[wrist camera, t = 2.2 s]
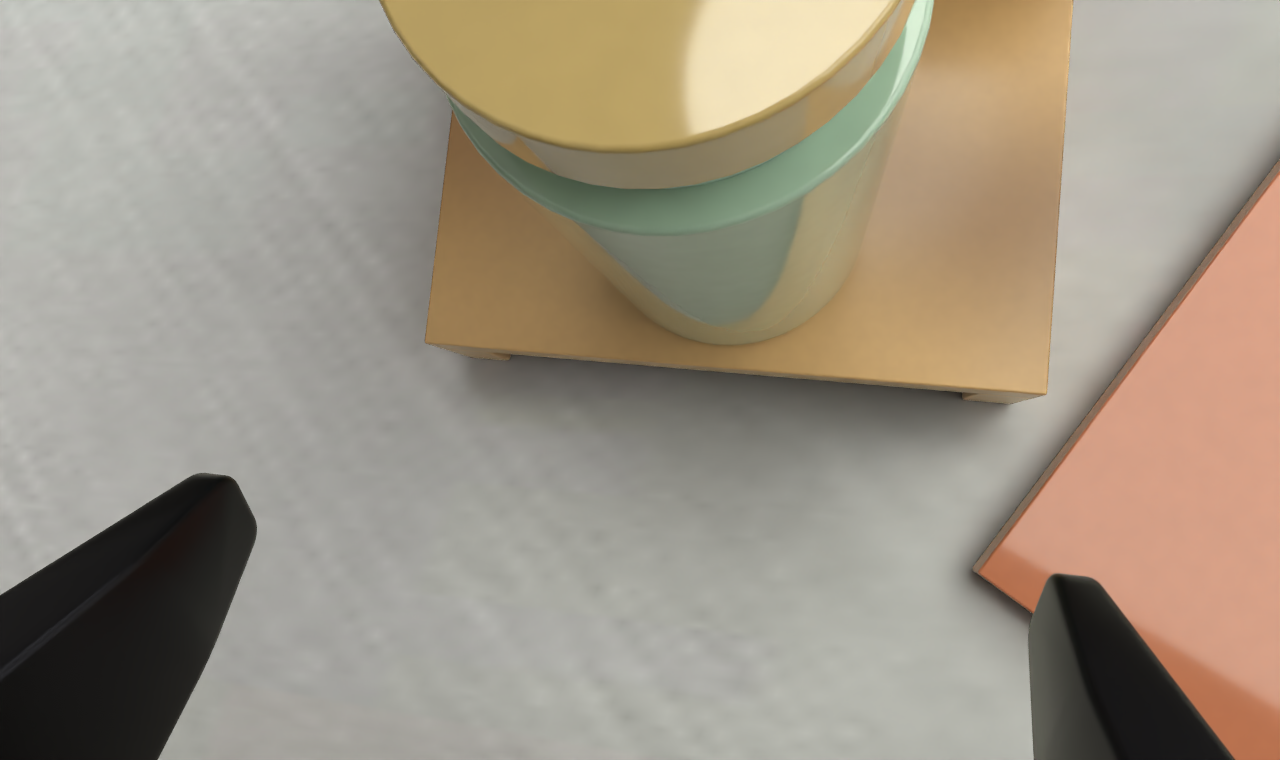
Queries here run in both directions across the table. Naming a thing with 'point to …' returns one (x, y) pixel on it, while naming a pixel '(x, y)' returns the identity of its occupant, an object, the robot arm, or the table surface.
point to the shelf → (888, 259)
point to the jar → (686, 137)
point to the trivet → (1182, 489)
